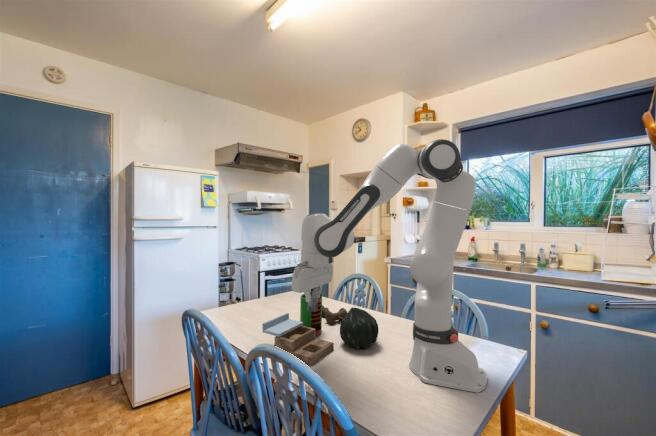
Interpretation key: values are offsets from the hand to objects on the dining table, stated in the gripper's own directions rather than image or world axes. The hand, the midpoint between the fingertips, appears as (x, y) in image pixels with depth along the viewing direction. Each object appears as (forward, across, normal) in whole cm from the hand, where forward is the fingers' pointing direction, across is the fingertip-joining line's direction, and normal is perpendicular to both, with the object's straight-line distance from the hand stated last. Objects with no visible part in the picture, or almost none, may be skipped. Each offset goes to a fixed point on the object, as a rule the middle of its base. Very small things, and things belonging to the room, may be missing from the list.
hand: (312, 299), depth 103 cm
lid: (+14, +2, +15) cm, 20 cm away
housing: (+20, +2, +5) cm, 21 cm away
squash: (+20, +18, -10) cm, 29 cm away
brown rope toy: (+21, +36, +13) cm, 43 cm away
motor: (+20, +17, +12) cm, 29 cm away
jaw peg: (+4, 0, 0) cm, 4 cm away
